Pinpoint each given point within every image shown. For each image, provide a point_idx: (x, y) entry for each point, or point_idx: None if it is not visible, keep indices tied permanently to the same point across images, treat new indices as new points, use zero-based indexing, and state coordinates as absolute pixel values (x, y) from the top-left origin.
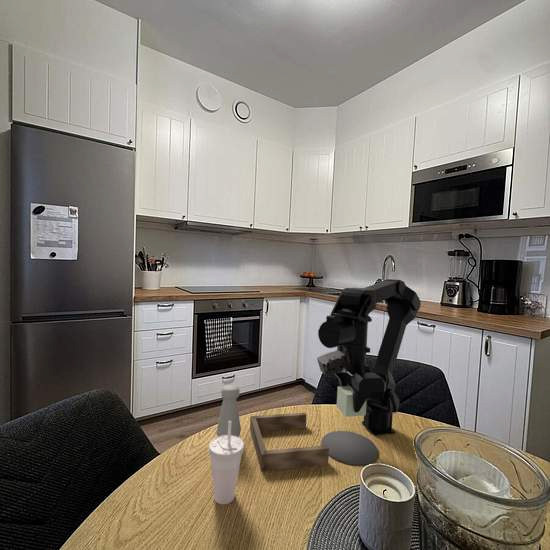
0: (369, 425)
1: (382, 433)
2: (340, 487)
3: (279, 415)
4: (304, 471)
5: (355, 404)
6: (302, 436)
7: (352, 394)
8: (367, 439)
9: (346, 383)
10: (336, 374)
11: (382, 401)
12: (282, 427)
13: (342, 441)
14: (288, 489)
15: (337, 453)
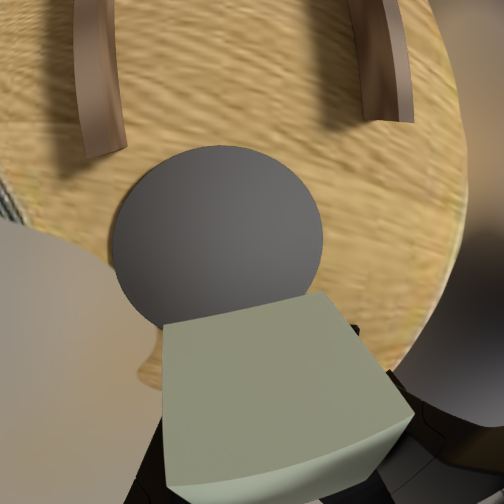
0: None
1: None
2: (11, 180)
3: (390, 4)
4: (72, 63)
5: (149, 447)
6: (305, 84)
7: (195, 501)
8: None
9: (403, 463)
10: (502, 479)
11: None
12: (357, 25)
13: (248, 240)
14: (13, 30)
15: (161, 200)
